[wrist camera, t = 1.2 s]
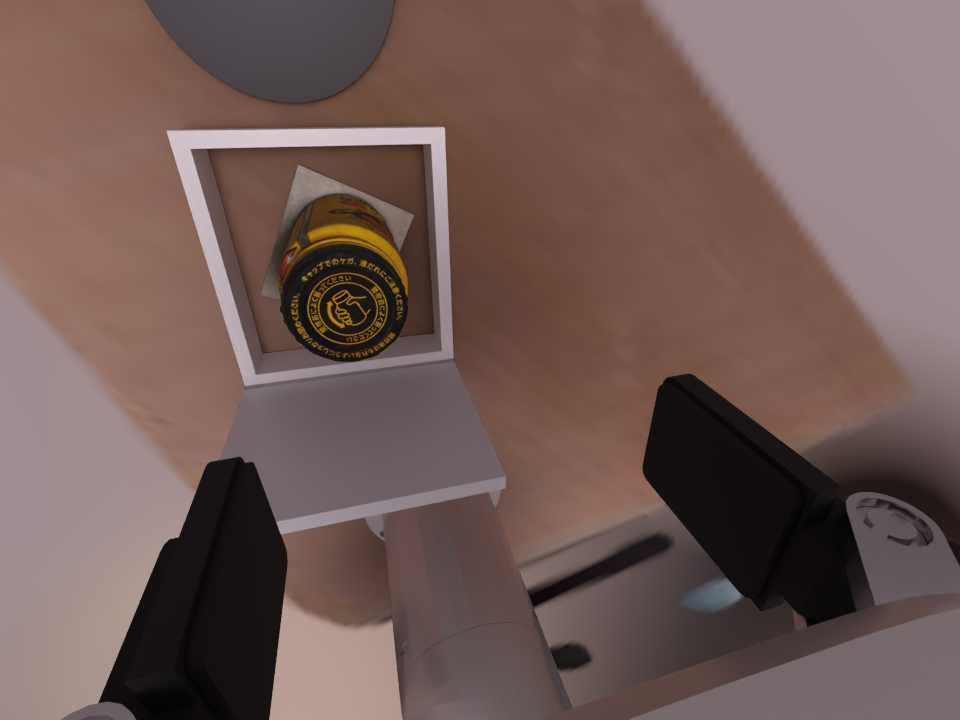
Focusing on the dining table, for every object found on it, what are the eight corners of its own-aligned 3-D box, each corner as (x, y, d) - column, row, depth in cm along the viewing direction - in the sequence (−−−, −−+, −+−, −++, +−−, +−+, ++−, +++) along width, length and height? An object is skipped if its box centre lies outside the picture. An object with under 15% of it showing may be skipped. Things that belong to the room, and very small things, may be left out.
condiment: (413, 214, 29) (452, 267, 19) (370, 326, 32) (383, 425, 22) (298, 163, 26) (271, 195, 16) (261, 292, 29) (218, 389, 19)
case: (445, 351, 35) (505, 489, 22) (256, 376, 31) (198, 553, 19) (435, 126, 27) (516, 137, 14) (184, 128, 24) (8, 146, 11)
